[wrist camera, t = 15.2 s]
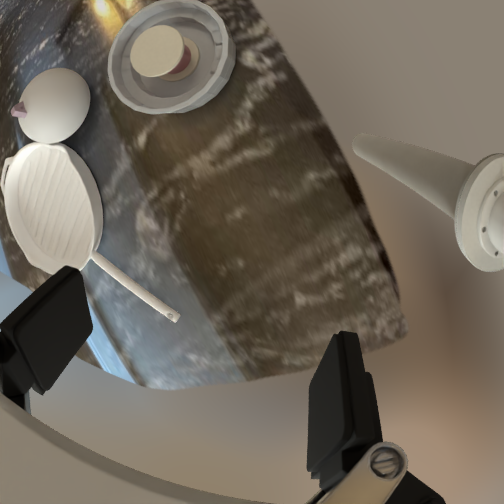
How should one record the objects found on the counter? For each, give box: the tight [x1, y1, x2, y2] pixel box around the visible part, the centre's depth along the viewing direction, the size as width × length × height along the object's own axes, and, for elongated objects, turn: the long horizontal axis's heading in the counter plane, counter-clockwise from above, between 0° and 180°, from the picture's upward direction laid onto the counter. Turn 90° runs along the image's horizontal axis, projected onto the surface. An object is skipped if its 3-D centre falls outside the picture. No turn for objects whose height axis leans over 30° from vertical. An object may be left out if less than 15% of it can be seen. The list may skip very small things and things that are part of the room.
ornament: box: [11, 68, 90, 144], centre depth 26 cm, size 10×10×12 cm
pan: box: [0, 142, 180, 322], centre depth 39 cm, size 24×41×4 cm, turn 52°
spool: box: [130, 25, 200, 82], centre depth 25 cm, size 6×6×6 cm
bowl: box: [108, 0, 236, 114], centre depth 26 cm, size 14×14×5 cm
